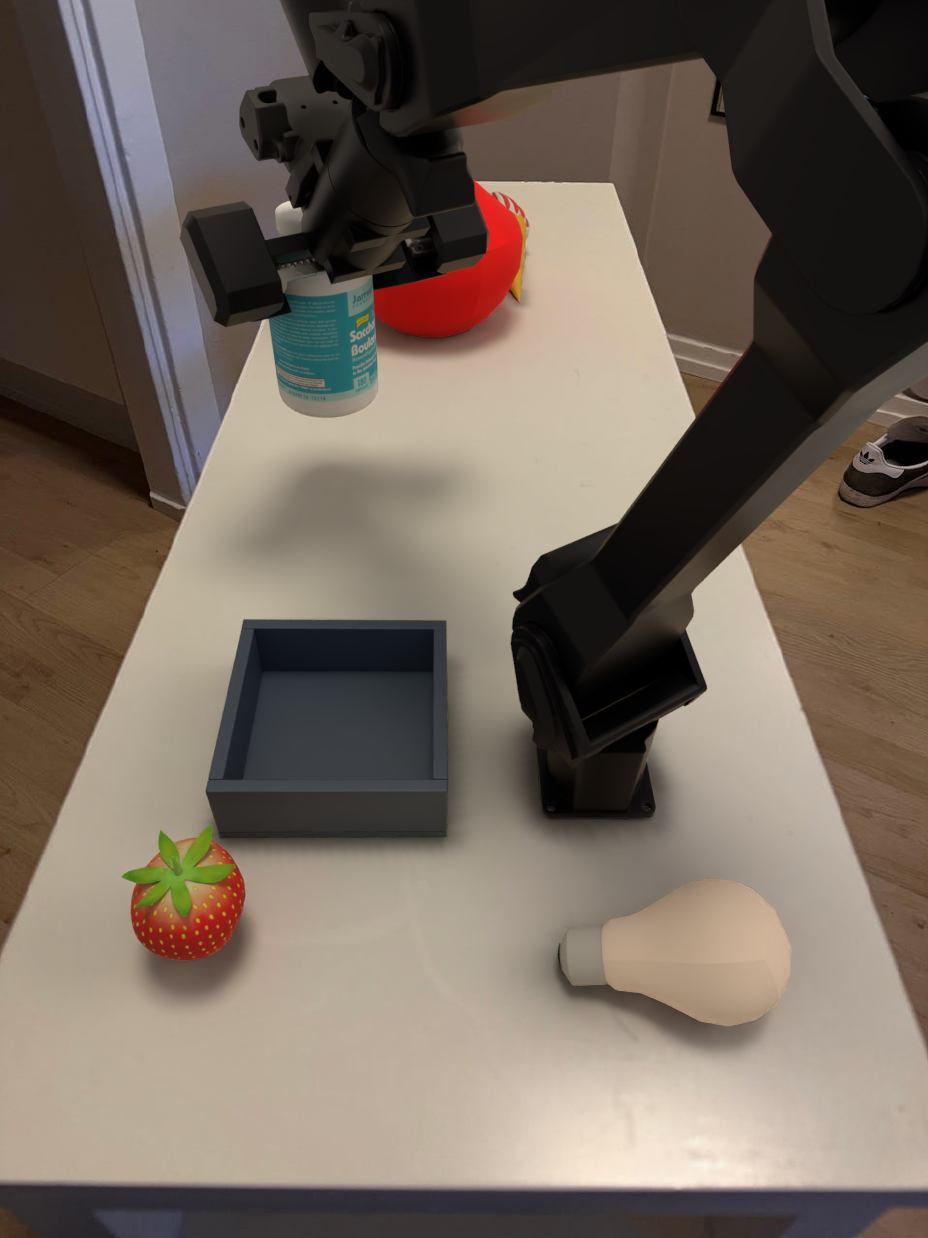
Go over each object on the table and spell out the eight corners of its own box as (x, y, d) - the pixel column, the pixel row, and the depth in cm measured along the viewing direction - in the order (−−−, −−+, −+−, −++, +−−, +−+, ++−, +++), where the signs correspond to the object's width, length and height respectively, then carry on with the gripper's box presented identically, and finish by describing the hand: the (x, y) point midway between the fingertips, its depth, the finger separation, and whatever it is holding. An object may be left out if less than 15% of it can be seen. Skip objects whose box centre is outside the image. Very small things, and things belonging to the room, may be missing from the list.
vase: (338, 358, 86) (321, 146, 72) (349, 277, 98) (336, 84, 85) (524, 359, 86) (541, 150, 73) (511, 279, 99) (523, 88, 86)
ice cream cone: (506, 335, 99) (481, 225, 109) (556, 308, 96) (526, 198, 106) (479, 298, 94) (456, 186, 104) (532, 269, 91) (503, 157, 102)
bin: (446, 836, 49) (447, 791, 45) (219, 837, 48) (204, 792, 45) (445, 667, 57) (446, 619, 54) (253, 667, 57) (243, 618, 54)
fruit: (246, 991, 42) (218, 916, 37) (140, 989, 42) (95, 913, 37) (265, 889, 46) (242, 806, 40) (167, 886, 46) (131, 803, 40)
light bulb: (541, 975, 38) (803, 966, 36) (547, 859, 44) (775, 844, 41) (566, 1059, 42) (807, 1056, 39) (569, 941, 47) (781, 932, 45)
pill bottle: (377, 422, 63) (365, 231, 54) (274, 423, 63) (244, 230, 53) (381, 371, 68) (371, 189, 59) (286, 371, 68) (260, 188, 59)
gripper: (469, 13, 50) (386, 165, 64) (150, 48, 43) (136, 211, 57) (539, 199, 51) (441, 308, 65) (238, 265, 44) (202, 372, 58)
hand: (312, 297), depth 61 cm, fingers closed on pill bottle, 7 cm apart
